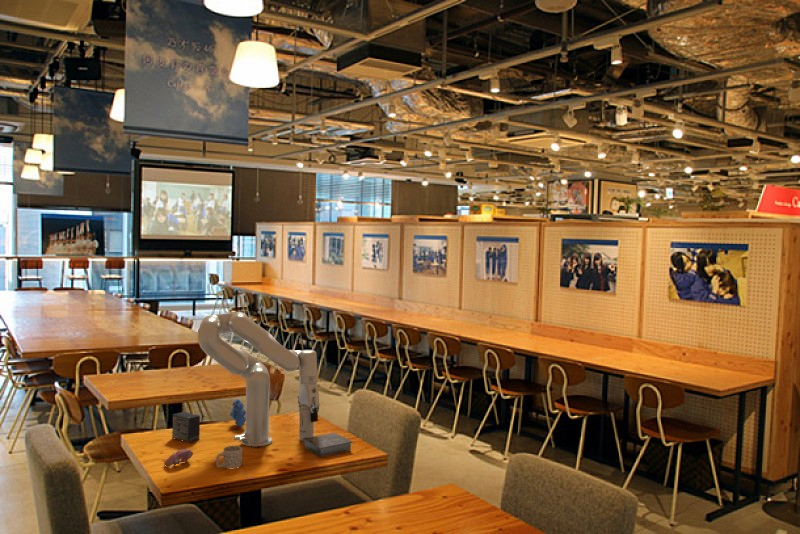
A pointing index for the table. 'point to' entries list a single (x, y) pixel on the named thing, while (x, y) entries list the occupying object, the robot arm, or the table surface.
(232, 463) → the mug
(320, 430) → the table surface
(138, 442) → the table surface
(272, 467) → the table surface
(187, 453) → the purple oval lump
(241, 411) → the grapes
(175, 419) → the small box
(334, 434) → the stand
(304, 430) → the energy drink can
